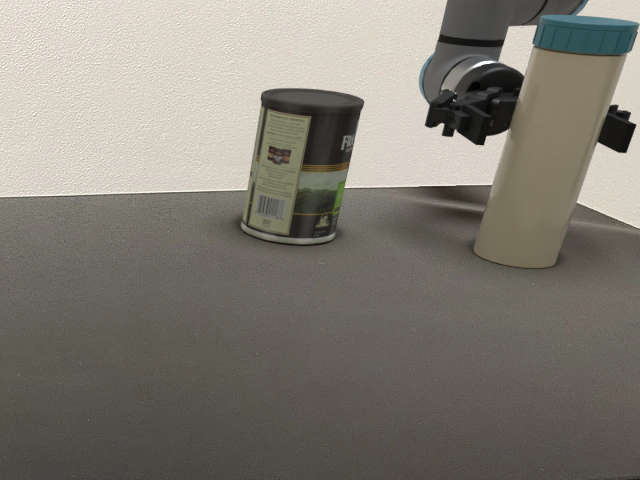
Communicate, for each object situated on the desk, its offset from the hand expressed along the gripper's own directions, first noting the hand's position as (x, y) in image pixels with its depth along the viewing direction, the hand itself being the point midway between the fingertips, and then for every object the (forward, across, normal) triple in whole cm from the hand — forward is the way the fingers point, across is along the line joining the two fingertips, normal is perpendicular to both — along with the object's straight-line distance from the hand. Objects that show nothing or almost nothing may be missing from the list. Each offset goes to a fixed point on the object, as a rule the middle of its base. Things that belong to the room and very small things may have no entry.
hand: (555, 135), depth 94 cm
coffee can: (-5, +23, -13) cm, 27 cm away
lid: (-1, 0, +10) cm, 10 cm away
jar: (-1, 0, -12) cm, 12 cm away
